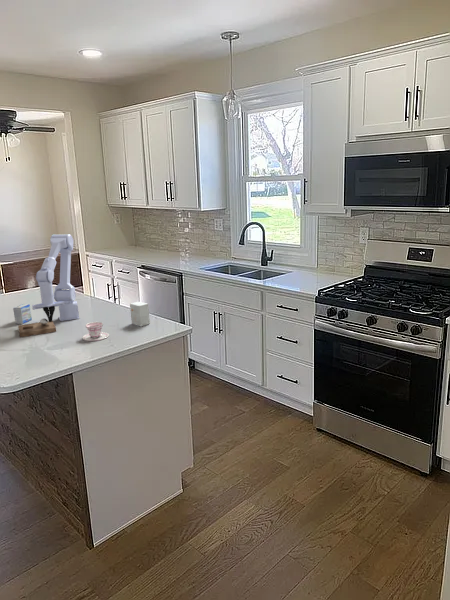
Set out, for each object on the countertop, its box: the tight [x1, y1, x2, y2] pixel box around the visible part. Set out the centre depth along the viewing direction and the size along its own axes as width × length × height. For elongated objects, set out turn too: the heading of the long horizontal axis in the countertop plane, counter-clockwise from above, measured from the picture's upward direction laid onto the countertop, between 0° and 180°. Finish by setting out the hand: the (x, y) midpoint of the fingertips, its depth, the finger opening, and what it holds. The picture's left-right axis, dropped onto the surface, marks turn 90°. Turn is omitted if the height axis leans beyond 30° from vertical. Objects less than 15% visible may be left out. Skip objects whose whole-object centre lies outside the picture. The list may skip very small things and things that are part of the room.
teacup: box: [81, 321, 110, 342], centre depth 212 cm, size 12×12×6 cm
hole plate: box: [17, 320, 57, 338], centre depth 224 cm, size 16×14×2 cm
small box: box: [129, 301, 151, 327], centre depth 229 cm, size 8×6×10 cm
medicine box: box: [12, 303, 32, 325], centre depth 239 cm, size 8×4×9 cm, turn 168°
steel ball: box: [39, 318, 49, 326], centre depth 225 cm, size 4×4×4 cm
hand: (50, 321), depth 226 cm, fingers closed
